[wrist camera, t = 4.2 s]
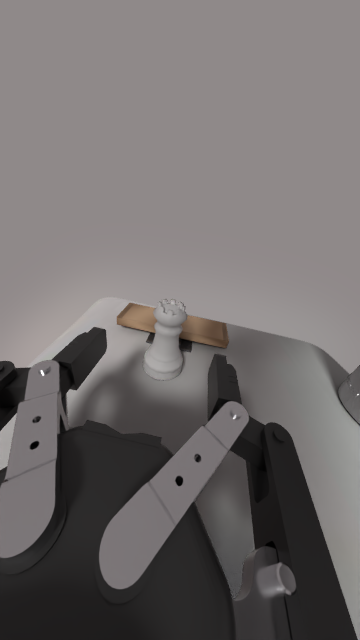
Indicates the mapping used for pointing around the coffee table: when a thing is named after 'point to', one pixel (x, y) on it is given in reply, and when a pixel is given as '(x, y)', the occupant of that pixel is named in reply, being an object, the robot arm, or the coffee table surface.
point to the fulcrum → (183, 343)
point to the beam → (192, 326)
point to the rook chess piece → (166, 342)
